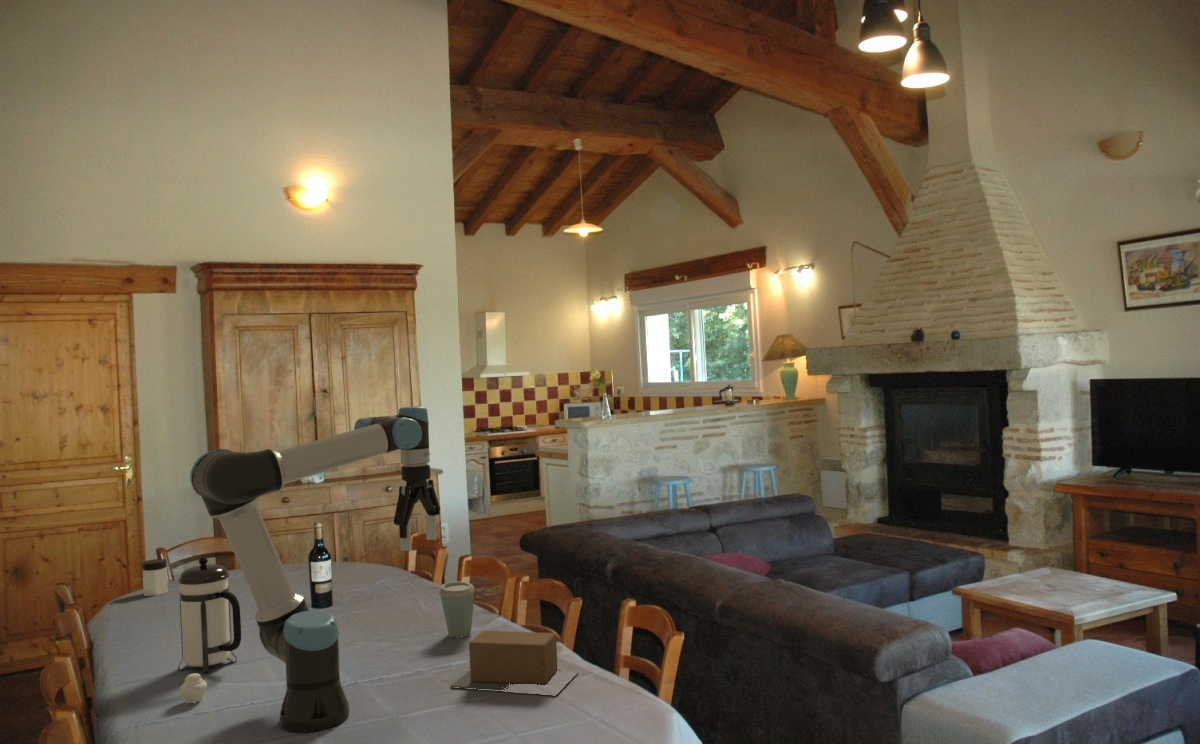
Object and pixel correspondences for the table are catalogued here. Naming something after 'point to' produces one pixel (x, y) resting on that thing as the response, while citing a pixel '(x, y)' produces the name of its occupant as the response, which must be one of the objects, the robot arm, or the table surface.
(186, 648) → the coffee press
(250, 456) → the robot arm
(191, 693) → the beige rounded lump
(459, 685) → the mat
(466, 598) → the disposable coffee cup
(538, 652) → the wooden block
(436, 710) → the table surface
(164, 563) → the jar
